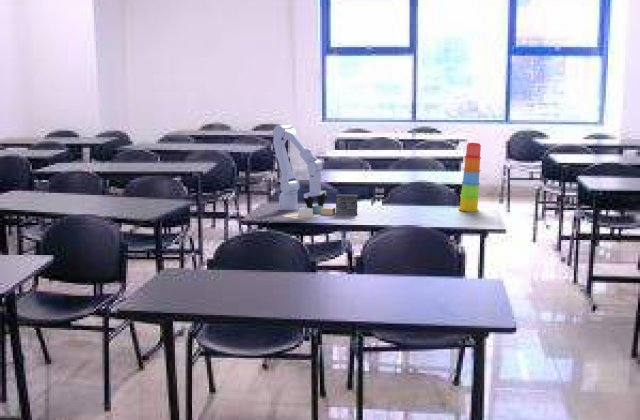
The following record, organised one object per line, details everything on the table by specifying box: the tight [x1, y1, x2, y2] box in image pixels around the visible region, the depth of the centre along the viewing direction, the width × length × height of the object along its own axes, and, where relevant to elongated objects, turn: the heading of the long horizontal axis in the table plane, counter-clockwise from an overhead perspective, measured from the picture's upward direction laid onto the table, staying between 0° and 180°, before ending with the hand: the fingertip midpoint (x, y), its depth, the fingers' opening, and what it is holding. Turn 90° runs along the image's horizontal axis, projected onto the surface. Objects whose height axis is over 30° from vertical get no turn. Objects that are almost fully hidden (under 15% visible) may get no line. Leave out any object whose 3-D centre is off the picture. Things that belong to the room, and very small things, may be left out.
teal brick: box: [312, 203, 322, 214], centre depth 371 cm, size 6×4×4 cm, turn 48°
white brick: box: [297, 206, 314, 218], centre depth 359 cm, size 6×4×4 cm, turn 46°
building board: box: [280, 211, 323, 221], centre depth 362 cm, size 16×14×1 cm
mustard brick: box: [320, 206, 336, 216], centre depth 365 cm, size 6×4×4 cm, turn 68°
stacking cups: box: [458, 142, 482, 213], centre depth 374 cm, size 10×10×35 cm
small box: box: [335, 193, 358, 217], centre depth 364 cm, size 11×6×10 cm, turn 84°
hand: (315, 210), depth 371 cm, fingers open, 7 cm apart
